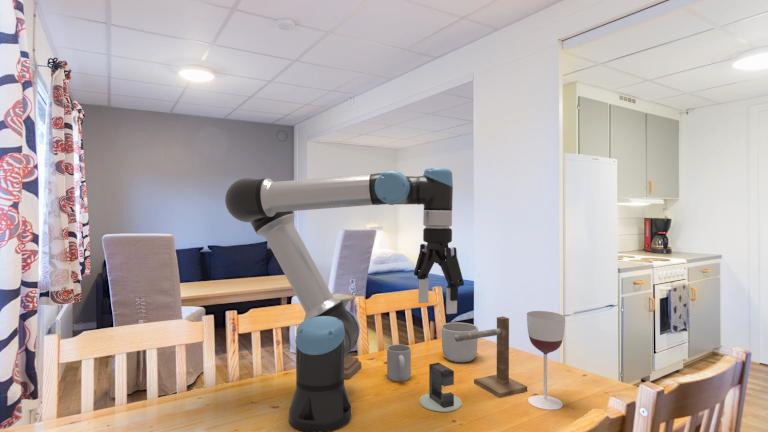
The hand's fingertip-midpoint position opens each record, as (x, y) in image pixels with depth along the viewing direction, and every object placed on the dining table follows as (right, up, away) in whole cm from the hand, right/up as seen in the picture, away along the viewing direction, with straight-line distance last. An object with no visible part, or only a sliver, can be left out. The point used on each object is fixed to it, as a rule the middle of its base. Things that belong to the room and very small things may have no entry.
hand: (436, 307), depth 115 cm
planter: (+12, -25, +34) cm, 44 cm away
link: (+1, -25, -1) cm, 25 cm away
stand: (+15, -25, +8) cm, 30 cm away
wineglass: (+29, -25, 0) cm, 38 cm away
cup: (-9, -25, +16) cm, 31 cm away
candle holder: (-28, -25, +22) cm, 44 cm away
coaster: (+1, -25, 0) cm, 25 cm away
